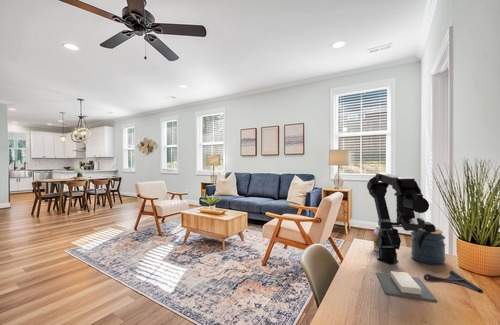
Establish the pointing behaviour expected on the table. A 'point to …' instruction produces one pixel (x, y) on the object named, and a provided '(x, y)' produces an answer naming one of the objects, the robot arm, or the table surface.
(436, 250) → the canister
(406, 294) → the mat
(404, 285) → the tile
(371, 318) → the table surface
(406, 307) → the table surface
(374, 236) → the supplement bottle
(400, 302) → the table surface
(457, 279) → the bracket
